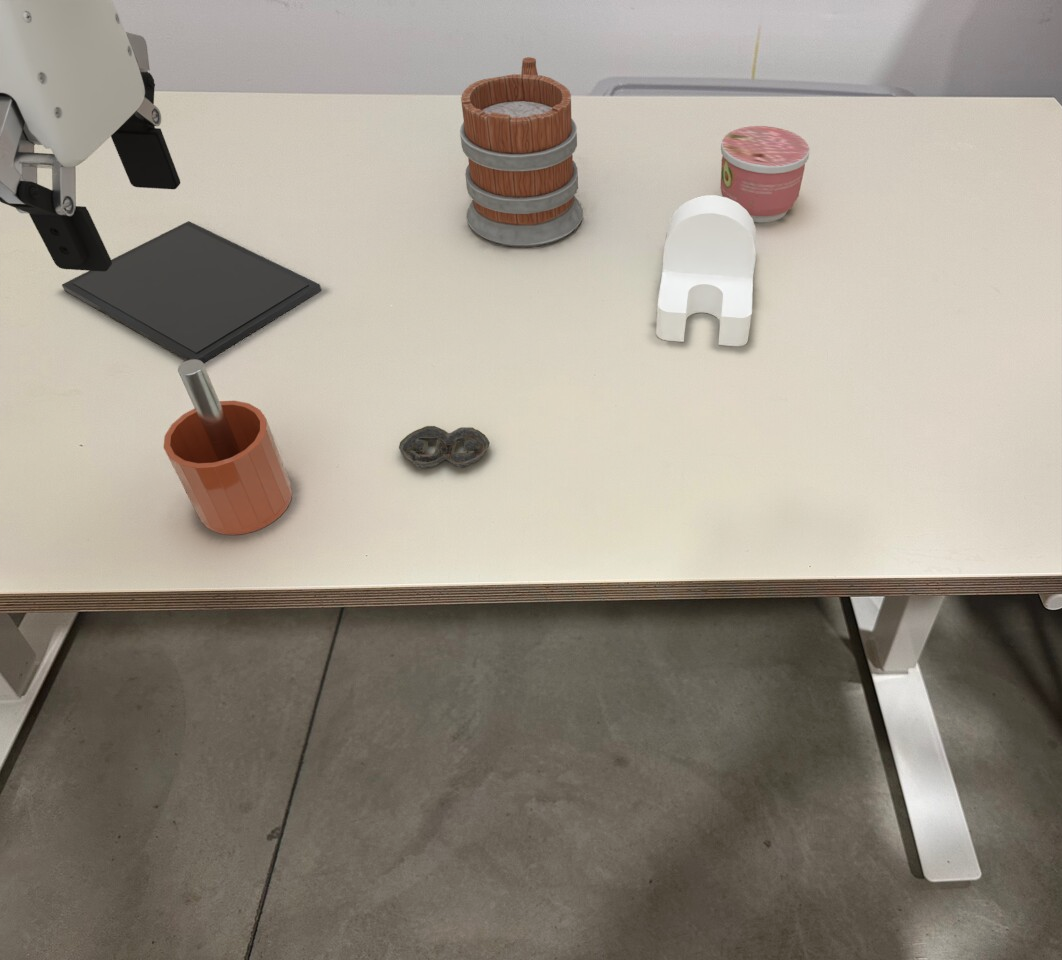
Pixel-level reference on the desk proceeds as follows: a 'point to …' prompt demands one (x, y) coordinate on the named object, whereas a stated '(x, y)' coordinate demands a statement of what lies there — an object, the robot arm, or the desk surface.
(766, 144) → the container
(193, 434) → the holder
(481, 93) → the mug
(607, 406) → the desk surface
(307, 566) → the desk surface
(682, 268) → the u-slot stand
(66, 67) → the robot arm
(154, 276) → the tablet
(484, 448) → the corroded twin loop
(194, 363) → the stylus
